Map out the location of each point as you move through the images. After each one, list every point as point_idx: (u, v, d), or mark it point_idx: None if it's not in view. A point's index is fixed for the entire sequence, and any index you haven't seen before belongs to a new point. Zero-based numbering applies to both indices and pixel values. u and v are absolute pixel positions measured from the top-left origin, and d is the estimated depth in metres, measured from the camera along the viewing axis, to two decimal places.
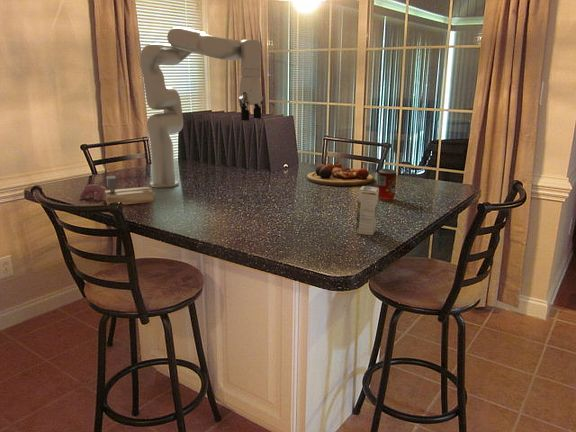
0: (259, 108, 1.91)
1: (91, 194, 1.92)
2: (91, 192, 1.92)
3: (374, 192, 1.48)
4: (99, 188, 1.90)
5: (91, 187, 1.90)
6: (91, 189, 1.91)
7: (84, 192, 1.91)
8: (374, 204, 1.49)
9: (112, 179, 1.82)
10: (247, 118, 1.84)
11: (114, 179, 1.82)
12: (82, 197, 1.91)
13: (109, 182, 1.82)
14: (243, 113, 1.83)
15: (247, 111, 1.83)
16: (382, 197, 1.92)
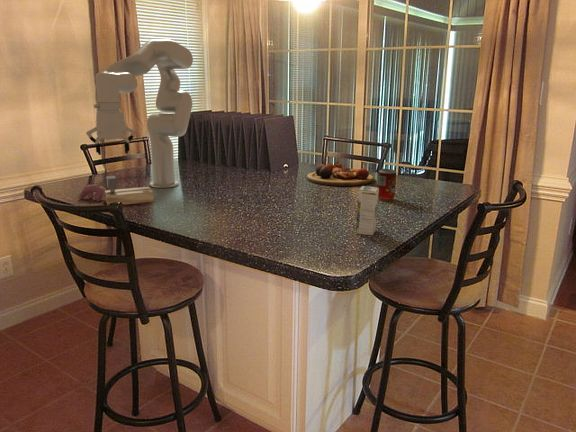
0: None
1: (90, 194, 1.91)
2: (90, 192, 1.91)
3: (374, 192, 1.48)
4: (98, 188, 1.89)
5: (90, 187, 1.90)
6: (90, 189, 1.90)
7: (83, 192, 1.90)
8: (374, 204, 1.49)
9: (112, 179, 1.82)
10: None
11: (114, 179, 1.82)
12: (81, 197, 1.90)
13: (109, 182, 1.82)
14: None
15: None
16: (382, 197, 1.92)
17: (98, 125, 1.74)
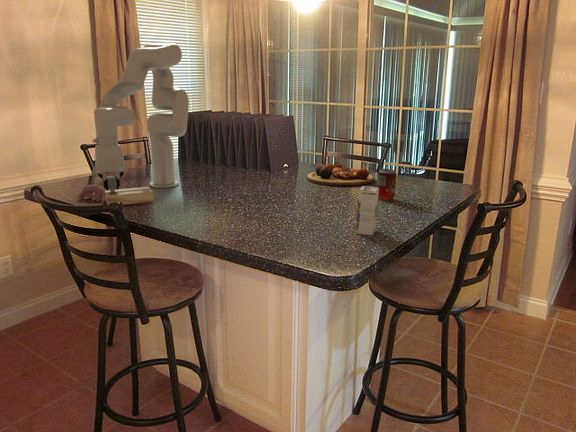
0: None
1: (89, 195, 1.91)
2: (89, 193, 1.91)
3: (374, 192, 1.48)
4: (97, 189, 1.89)
5: (89, 188, 1.89)
6: (89, 190, 1.90)
7: (82, 193, 1.90)
8: (374, 204, 1.49)
9: (112, 179, 1.82)
10: None
11: (114, 179, 1.82)
12: (80, 198, 1.89)
13: (109, 182, 1.82)
14: None
15: None
16: (382, 197, 1.92)
17: (97, 159, 1.78)
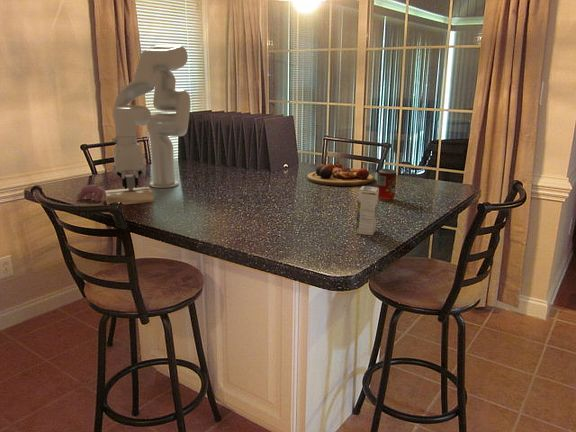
0: None
1: (89, 195, 1.90)
2: (89, 193, 1.91)
3: (374, 192, 1.48)
4: (97, 189, 1.88)
5: (89, 188, 1.89)
6: (89, 190, 1.89)
7: (82, 193, 1.90)
8: (374, 204, 1.49)
9: (131, 178, 1.84)
10: None
11: (133, 178, 1.85)
12: (80, 198, 1.89)
13: (128, 181, 1.84)
14: None
15: None
16: (382, 197, 1.92)
17: (116, 158, 1.80)
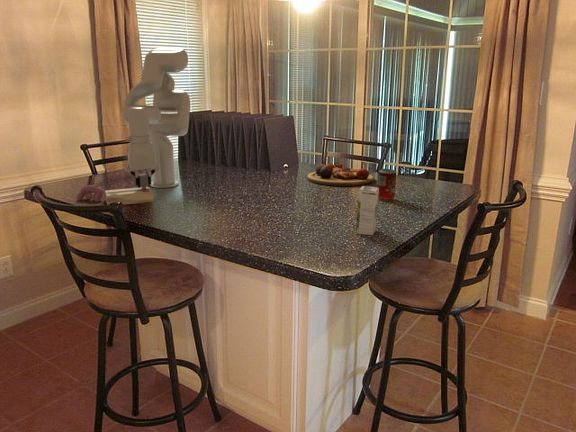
0: None
1: (88, 195, 1.90)
2: (88, 193, 1.90)
3: (374, 192, 1.48)
4: (96, 189, 1.88)
5: (88, 188, 1.89)
6: (88, 190, 1.89)
7: (81, 193, 1.89)
8: (374, 204, 1.49)
9: (144, 177, 1.86)
10: None
11: (146, 177, 1.87)
12: (79, 198, 1.89)
13: (141, 179, 1.86)
14: None
15: None
16: (382, 197, 1.92)
17: (130, 157, 1.82)
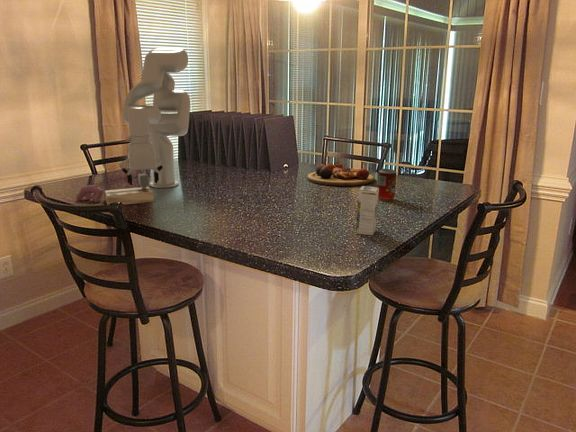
0: None
1: (88, 195, 1.90)
2: (88, 193, 1.90)
3: (374, 192, 1.48)
4: (96, 189, 1.87)
5: (88, 188, 1.88)
6: (88, 190, 1.89)
7: (80, 193, 1.89)
8: (374, 204, 1.49)
9: (144, 177, 1.86)
10: None
11: (146, 177, 1.87)
12: (78, 198, 1.88)
13: (141, 179, 1.86)
14: None
15: None
16: (382, 197, 1.92)
17: (130, 157, 1.82)
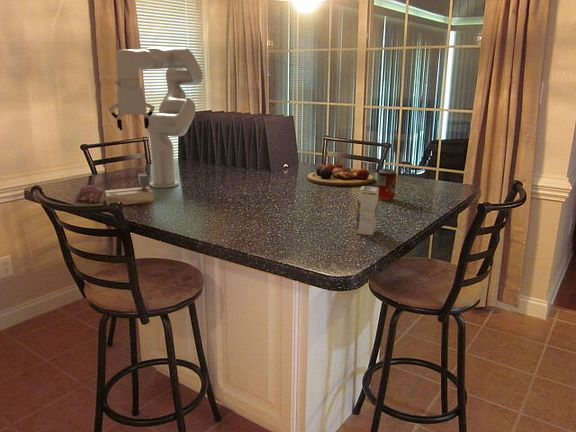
0: None
1: (87, 196, 1.89)
2: (87, 194, 1.90)
3: (374, 192, 1.48)
4: (95, 189, 1.87)
5: (87, 188, 1.88)
6: (87, 190, 1.88)
7: (80, 194, 1.89)
8: (374, 204, 1.49)
9: (144, 177, 1.86)
10: None
11: (146, 177, 1.87)
12: (78, 199, 1.88)
13: (141, 179, 1.86)
14: None
15: None
16: (382, 197, 1.92)
17: (119, 101, 1.81)
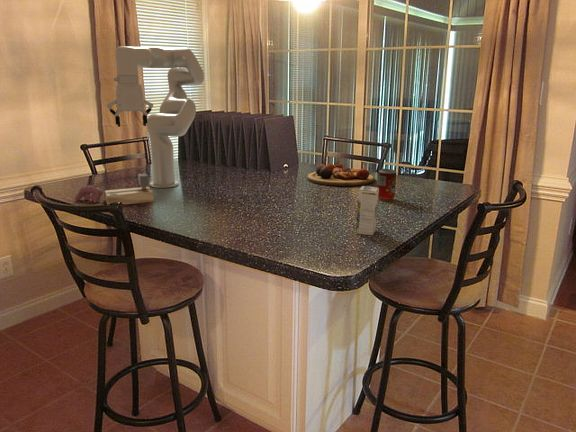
0: None
1: (87, 196, 1.89)
2: (86, 194, 1.89)
3: (374, 192, 1.48)
4: (95, 190, 1.87)
5: (87, 189, 1.88)
6: (87, 191, 1.88)
7: (79, 194, 1.88)
8: (374, 204, 1.49)
9: (144, 177, 1.86)
10: None
11: (146, 177, 1.87)
12: (77, 199, 1.88)
13: (141, 179, 1.86)
14: None
15: None
16: (382, 197, 1.92)
17: (118, 97, 1.81)
